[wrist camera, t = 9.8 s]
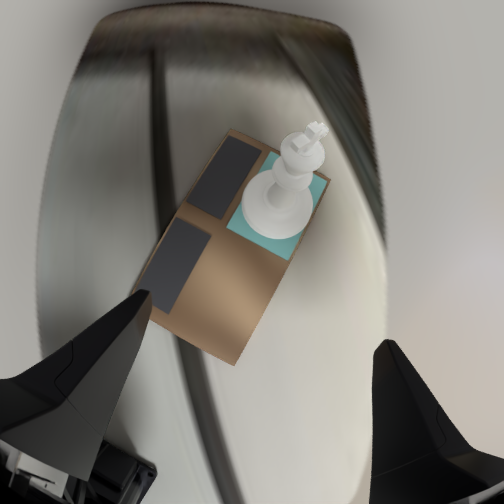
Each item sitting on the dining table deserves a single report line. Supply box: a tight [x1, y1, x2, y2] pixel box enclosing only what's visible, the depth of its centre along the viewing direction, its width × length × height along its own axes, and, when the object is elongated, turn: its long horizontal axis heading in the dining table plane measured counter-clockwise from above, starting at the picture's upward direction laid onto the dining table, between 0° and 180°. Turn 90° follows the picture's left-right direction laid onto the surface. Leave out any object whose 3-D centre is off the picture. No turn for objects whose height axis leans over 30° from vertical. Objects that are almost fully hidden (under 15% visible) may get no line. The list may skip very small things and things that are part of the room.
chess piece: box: [241, 121, 329, 239], centre depth 15 cm, size 5×5×10 cm
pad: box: [226, 151, 327, 261], centre depth 20 cm, size 7×5×1 cm
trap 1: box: [186, 135, 262, 220], centre depth 20 cm, size 6×3×1 cm, turn 152°
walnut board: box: [131, 129, 331, 366], centre depth 20 cm, size 15×8×1 cm, turn 152°
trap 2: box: [134, 217, 211, 314], centre depth 19 cm, size 6×3×1 cm, turn 152°
